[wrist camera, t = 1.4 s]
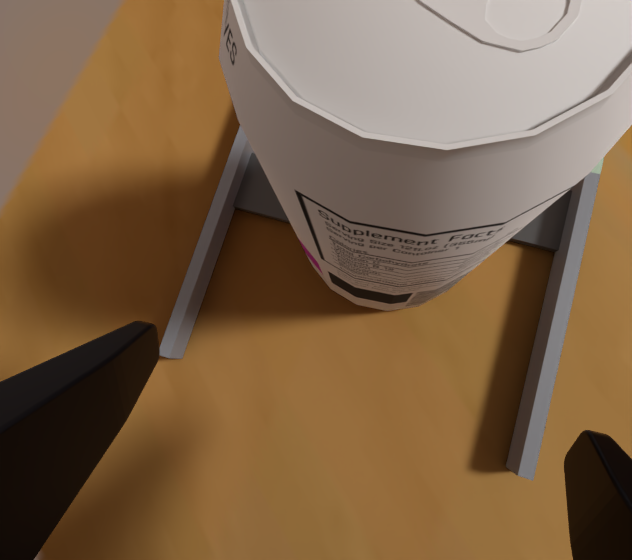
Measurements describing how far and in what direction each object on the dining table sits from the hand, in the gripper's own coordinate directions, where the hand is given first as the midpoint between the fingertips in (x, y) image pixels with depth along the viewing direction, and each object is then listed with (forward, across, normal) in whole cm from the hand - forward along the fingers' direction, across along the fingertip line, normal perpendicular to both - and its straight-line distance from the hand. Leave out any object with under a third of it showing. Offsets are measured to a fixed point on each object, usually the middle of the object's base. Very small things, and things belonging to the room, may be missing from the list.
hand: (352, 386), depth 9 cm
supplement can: (+13, 0, +3) cm, 14 cm away
